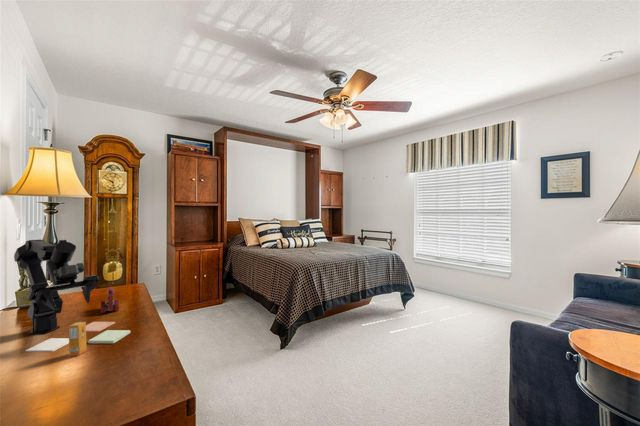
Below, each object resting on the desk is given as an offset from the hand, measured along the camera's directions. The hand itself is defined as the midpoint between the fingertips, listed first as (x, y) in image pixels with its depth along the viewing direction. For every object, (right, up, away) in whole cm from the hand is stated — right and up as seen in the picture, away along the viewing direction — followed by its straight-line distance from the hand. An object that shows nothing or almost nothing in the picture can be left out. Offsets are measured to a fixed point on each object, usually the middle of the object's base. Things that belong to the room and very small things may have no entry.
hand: (72, 305), depth 98 cm
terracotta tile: (-5, -15, +17) cm, 23 cm away
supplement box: (+6, -15, -5) cm, 16 cm away
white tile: (-8, -15, +1) cm, 17 cm away
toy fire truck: (-15, -15, +37) cm, 42 cm away
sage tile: (+8, -14, +7) cm, 18 cm away
